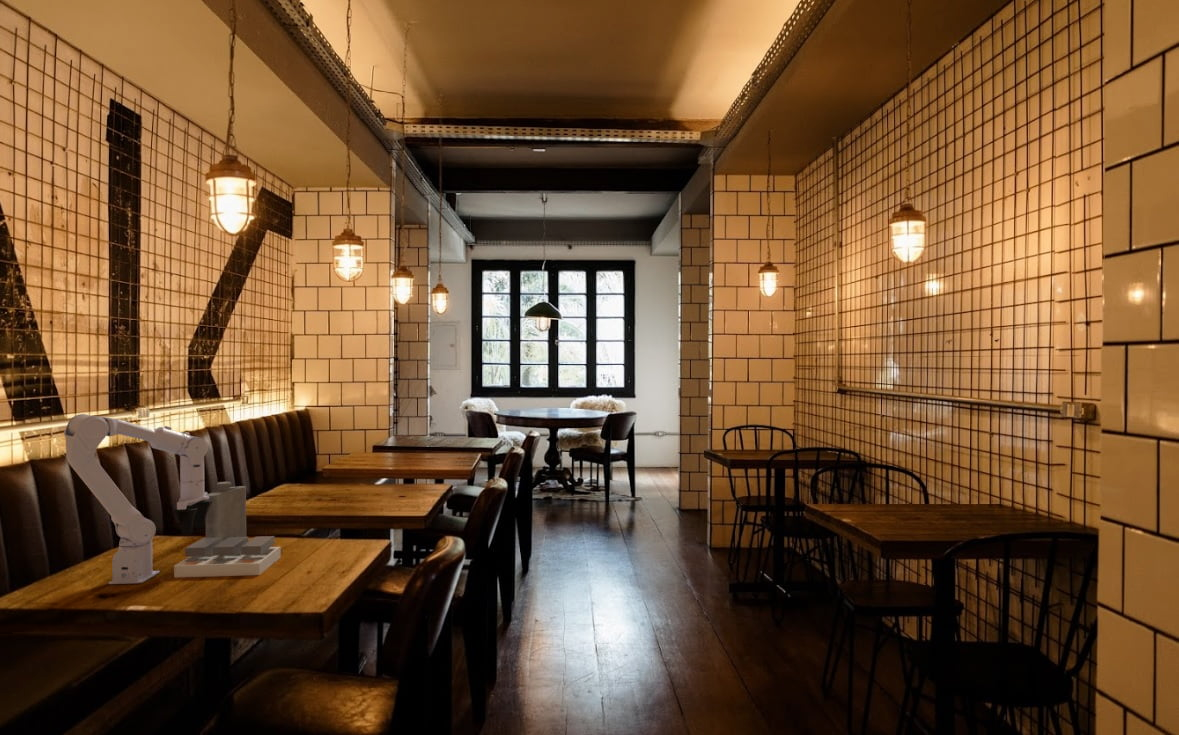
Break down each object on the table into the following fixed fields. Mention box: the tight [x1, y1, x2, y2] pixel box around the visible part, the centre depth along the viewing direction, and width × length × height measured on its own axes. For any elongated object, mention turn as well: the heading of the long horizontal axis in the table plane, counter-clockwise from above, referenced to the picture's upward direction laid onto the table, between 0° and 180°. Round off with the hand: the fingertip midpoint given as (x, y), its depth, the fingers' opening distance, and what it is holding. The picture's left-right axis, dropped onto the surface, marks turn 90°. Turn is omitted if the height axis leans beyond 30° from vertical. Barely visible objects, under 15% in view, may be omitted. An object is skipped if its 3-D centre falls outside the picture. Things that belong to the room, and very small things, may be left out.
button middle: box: [213, 536, 249, 556], centre depth 201 cm, size 11×5×2 cm, turn 5°
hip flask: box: [205, 481, 247, 542], centre depth 217 cm, size 16×4×20 cm, turn 170°
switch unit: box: [173, 546, 282, 578], centre depth 200 cm, size 17×21×3 cm
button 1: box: [184, 537, 222, 557], centre depth 200 cm, size 11×5×2 cm, turn 5°
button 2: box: [241, 535, 275, 555], centre depth 202 cm, size 11×5×2 cm, turn 5°
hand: (193, 531), depth 201 cm, fingers open, 7 cm apart
